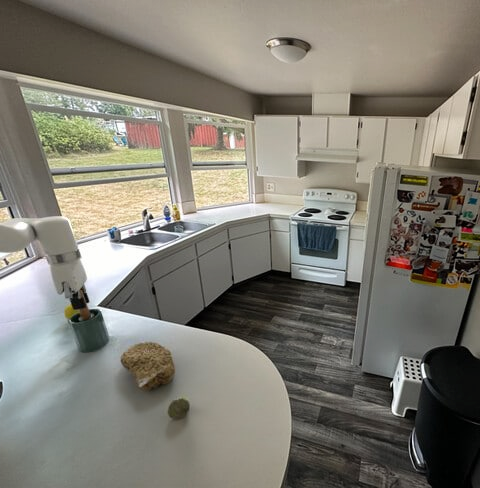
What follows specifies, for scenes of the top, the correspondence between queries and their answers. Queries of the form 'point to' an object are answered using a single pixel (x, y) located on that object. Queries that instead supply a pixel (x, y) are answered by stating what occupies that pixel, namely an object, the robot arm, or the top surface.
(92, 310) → the teal ceramic mug
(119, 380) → the top surface
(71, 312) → the lemon
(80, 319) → the brush
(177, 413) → the lime
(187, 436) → the top surface
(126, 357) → the beige grainy bag
